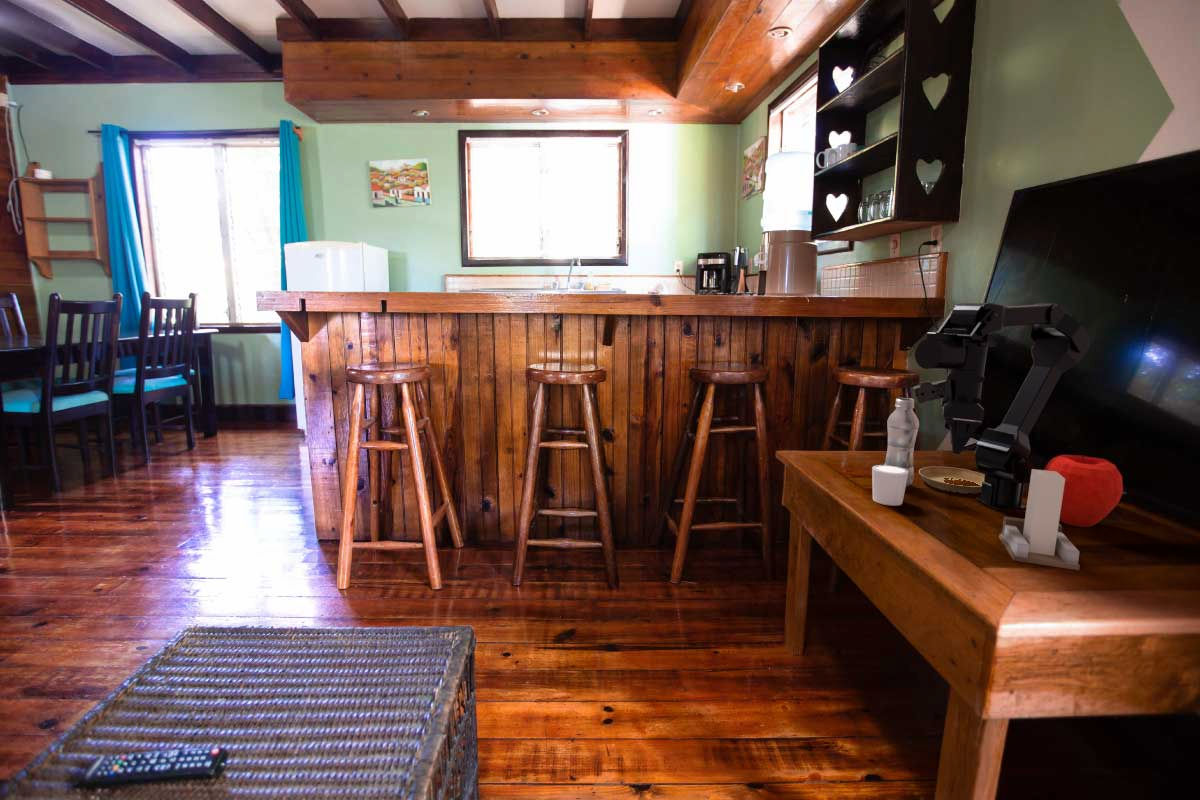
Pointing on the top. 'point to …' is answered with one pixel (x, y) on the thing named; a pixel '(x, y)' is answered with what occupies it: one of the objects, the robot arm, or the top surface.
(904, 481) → the white cup
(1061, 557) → the sill track
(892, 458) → the plastic bottle
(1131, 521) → the top surface
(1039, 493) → the white rectangular block
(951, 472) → the plant saucer
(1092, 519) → the apple
